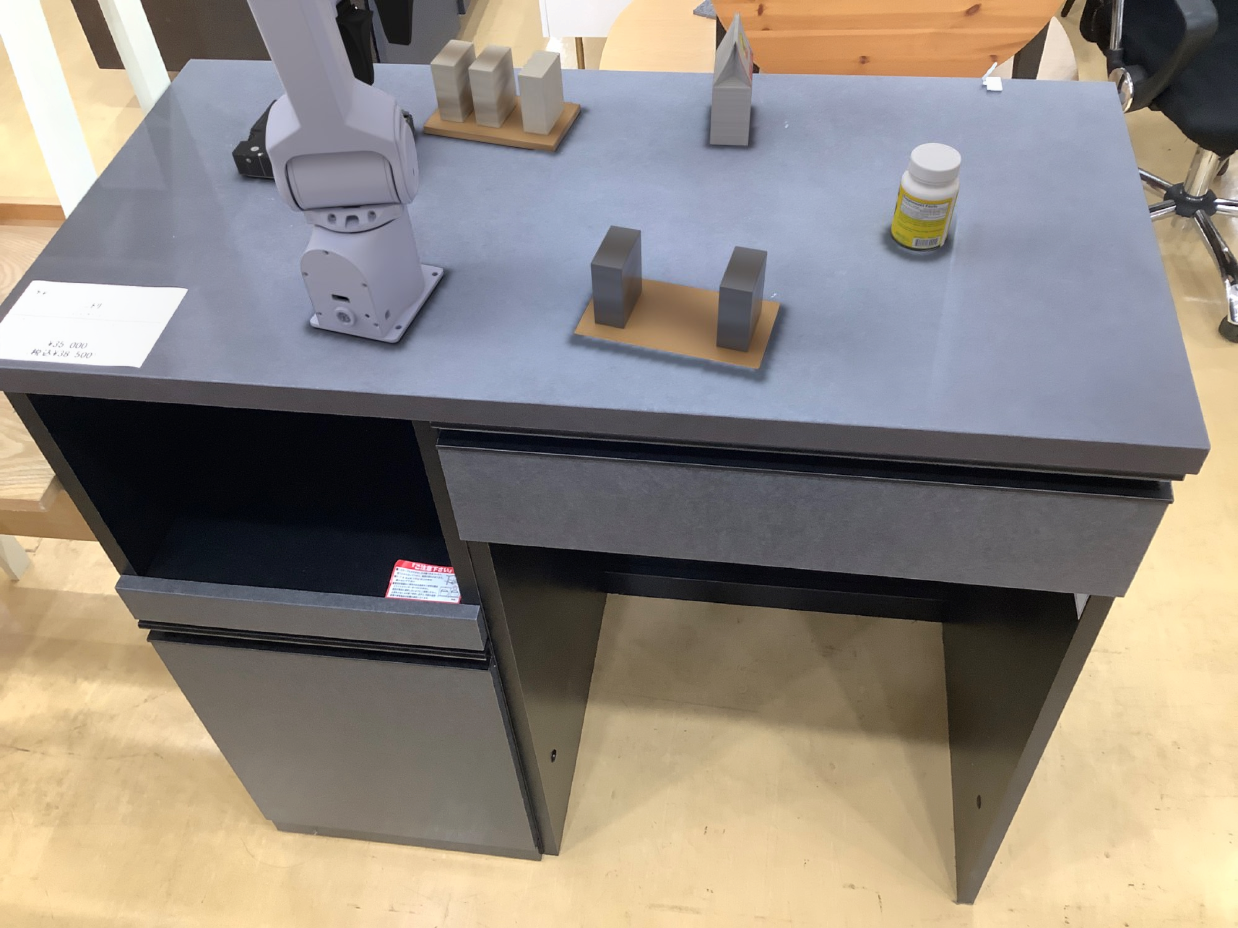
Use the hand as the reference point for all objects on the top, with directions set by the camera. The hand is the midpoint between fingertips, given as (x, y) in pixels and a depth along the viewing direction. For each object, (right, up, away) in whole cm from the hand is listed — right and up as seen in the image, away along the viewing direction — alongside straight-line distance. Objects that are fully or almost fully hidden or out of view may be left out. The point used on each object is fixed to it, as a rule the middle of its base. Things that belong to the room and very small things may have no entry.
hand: (381, 62), depth 90 cm
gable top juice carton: (+33, -3, +8) cm, 34 cm away
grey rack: (+26, -25, -10) cm, 37 cm away
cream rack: (+10, -2, +10) cm, 15 cm away
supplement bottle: (+48, -18, -5) cm, 51 cm away
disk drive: (-7, -6, +8) cm, 12 cm away
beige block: (+14, -2, +9) cm, 17 cm away
